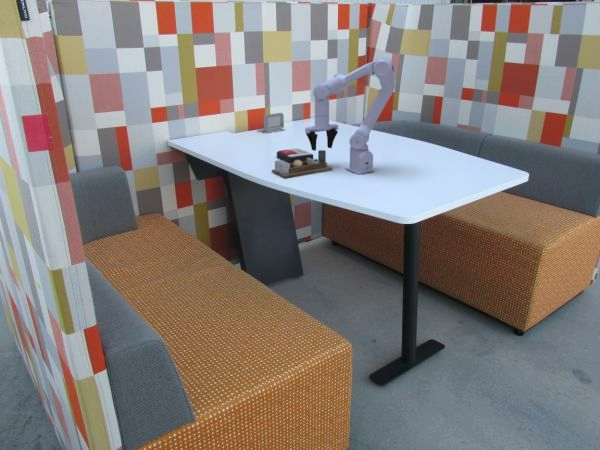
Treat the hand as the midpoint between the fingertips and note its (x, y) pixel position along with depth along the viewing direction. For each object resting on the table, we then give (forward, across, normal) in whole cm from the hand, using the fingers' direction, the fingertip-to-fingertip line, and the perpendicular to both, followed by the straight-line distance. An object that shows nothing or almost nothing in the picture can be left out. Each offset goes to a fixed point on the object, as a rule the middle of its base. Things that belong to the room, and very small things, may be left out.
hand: (321, 148), depth 205 cm
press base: (+8, +9, 0) cm, 12 cm away
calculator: (+9, +3, -18) cm, 20 cm away
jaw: (+7, +2, 0) cm, 7 cm away
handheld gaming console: (+8, -18, -81) cm, 83 cm away
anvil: (+8, +18, 0) cm, 20 cm away
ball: (+5, +11, 0) cm, 12 cm away
